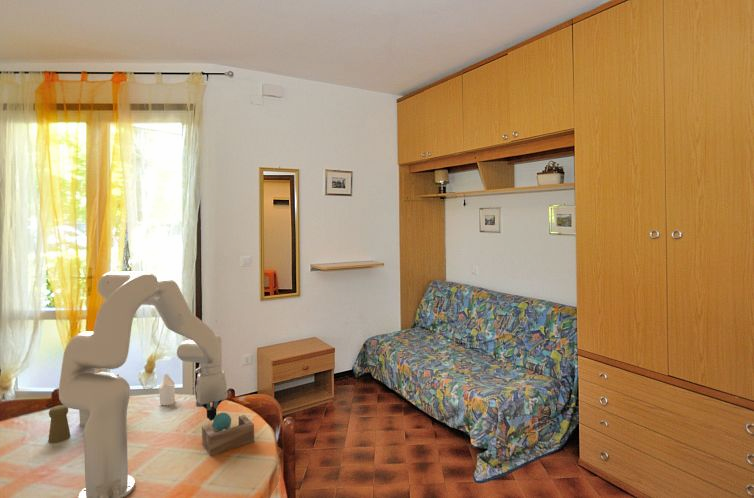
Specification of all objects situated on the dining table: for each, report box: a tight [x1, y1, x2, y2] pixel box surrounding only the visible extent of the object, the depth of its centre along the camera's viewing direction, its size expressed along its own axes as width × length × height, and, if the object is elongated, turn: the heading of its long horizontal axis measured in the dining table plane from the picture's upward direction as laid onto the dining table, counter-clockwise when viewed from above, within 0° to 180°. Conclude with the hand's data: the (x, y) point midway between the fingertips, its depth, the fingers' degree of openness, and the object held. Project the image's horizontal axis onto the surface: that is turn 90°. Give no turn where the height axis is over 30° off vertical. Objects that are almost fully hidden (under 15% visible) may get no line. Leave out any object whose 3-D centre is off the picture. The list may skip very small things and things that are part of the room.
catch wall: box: [201, 414, 255, 457], centre depth 136 cm, size 9×14×6 cm, turn 128°
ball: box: [212, 412, 232, 432], centre depth 145 cm, size 6×6×6 cm
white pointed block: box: [158, 373, 176, 407], centre depth 168 cm, size 6×12×6 cm
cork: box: [47, 404, 71, 444], centre depth 139 cm, size 6×6×11 cm
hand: (211, 418), depth 150 cm, fingers closed
